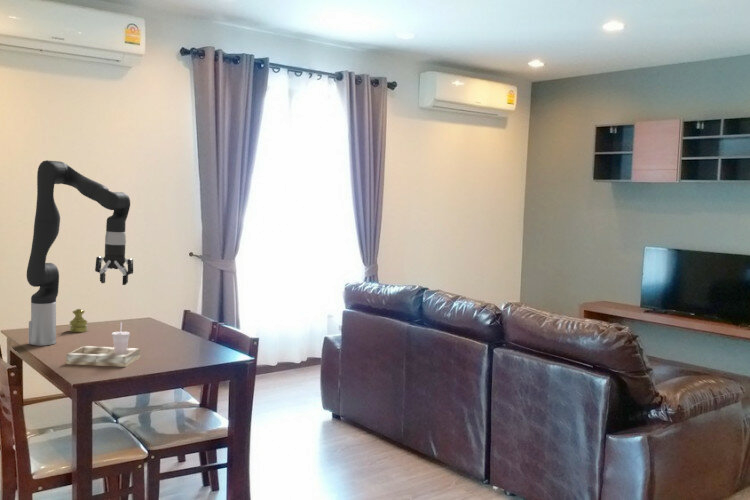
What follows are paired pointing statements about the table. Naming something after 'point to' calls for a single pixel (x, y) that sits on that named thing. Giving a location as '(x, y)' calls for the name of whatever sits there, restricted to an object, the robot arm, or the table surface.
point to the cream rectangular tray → (102, 356)
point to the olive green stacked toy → (78, 322)
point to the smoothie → (120, 341)
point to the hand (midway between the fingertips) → (113, 283)
